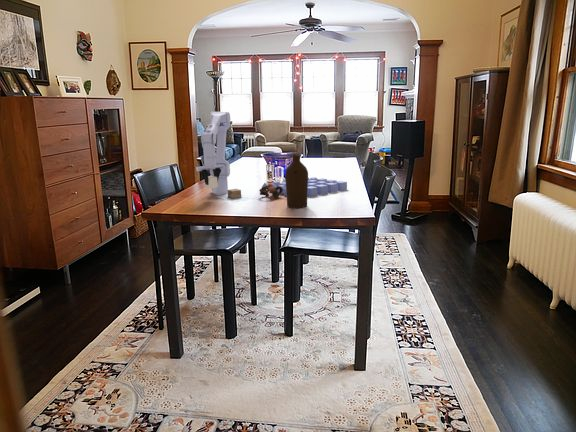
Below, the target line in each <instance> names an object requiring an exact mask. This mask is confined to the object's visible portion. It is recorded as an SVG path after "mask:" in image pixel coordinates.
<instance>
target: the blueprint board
mask: <svg viewBox="0 0 576 432" xmlns="http://www.w3.org/2000/svg"><path fill="white" fill-rule="evenodd" d="M216 198H219V199H222V200H226V201H229V202H231V203H237V202H242V201H248V200H254V197H249V196H246V195H242V194H241V198H235V199H231V198H228V194H222V195H218V196H216Z"/></svg>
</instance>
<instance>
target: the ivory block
mask: <svg viewBox="0 0 576 432" xmlns="http://www.w3.org/2000/svg"><path fill="white" fill-rule="evenodd" d="M204 184H205V183H204ZM205 187H206V188H208V189H212V188H214V187H218V183H217V177H215V176H211V175H208V185H206V184H205Z"/></svg>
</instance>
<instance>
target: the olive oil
mask: <svg viewBox="0 0 576 432" xmlns="http://www.w3.org/2000/svg"><path fill="white" fill-rule="evenodd" d="M284 174H285V175H284V180H286V193H287V196H286V206H287V208H290V209H303V208H307V207H308V196H307V190H308V178H309V171H308V168H307V167H306V166H305V164H303V163H302V161H301V155H300V152H292V161H291V163H289V165H288V166H287V167H286V169H285V173H284Z"/></svg>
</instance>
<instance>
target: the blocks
mask: <svg viewBox="0 0 576 432" xmlns="http://www.w3.org/2000/svg"><path fill="white" fill-rule="evenodd" d="M270 185H272V186H273V187H277V186H281V187H282V189H283V191H282V193H281V194H280V195H284V196H285V197H287V193H286V180H285V179H283V180H282V182H280V181H279V180H274V181H272V183H271V184H270ZM265 186H268V183H266V182H264V183H263V185H262V186H261V188H263V187H265ZM338 191H339V192H342V191H343V192H344V191H348V182H347V181H345V180H338V181H337V180H336V179H327V178H324V177H323V178H318V177H316V176H315V177H314V176H312V177H310V178H309V177H308V190H307V197H310V198H311V197H317V196H318V195H321V196H323V195H326V194H328V193H332V194H333V193H337V192H338ZM278 192H280V189H278ZM280 195H279V196H280Z"/></svg>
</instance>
